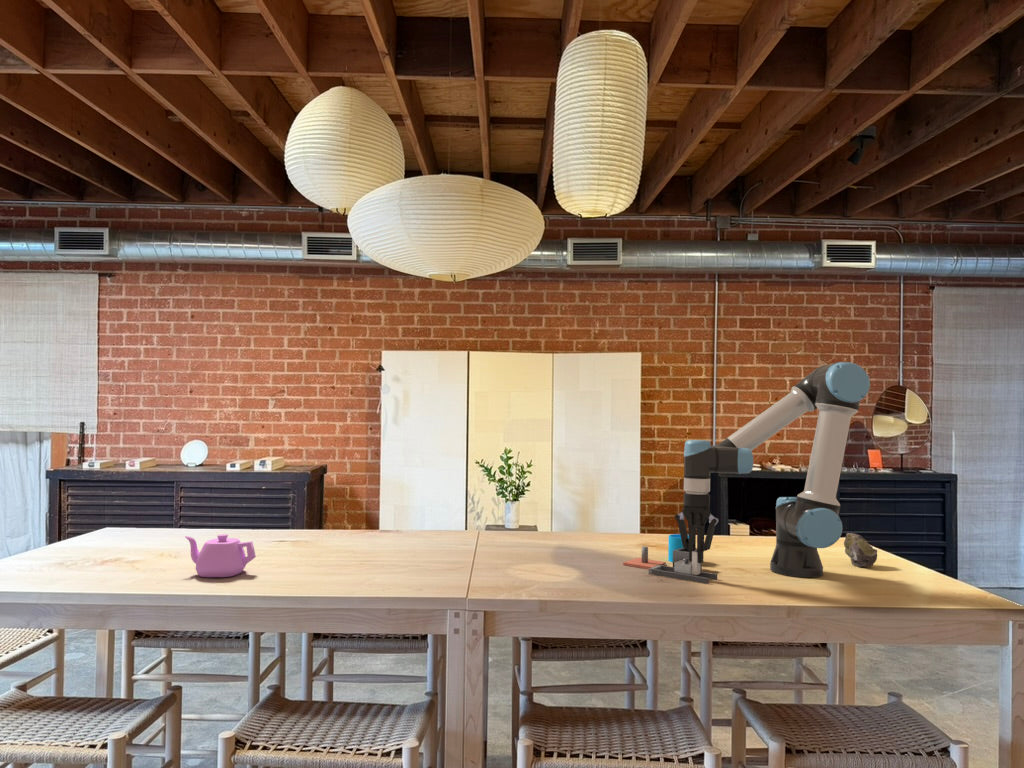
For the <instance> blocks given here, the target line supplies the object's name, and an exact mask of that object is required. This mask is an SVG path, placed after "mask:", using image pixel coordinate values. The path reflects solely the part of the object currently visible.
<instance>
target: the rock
mask: <svg viewBox="0 0 1024 768" xmlns="http://www.w3.org/2000/svg"><path fill="white" fill-rule="evenodd" d="M843 546H844V548H845V549H844V553H845V554H846V555H847V556H848V558H850V563H851V564H852V566H855V567H857V568H861V567H866V568H871V567H873V566H874V564H875V563H876V562H877V559H878V549H875V548H873V546H871V545H870V544H869V541H868V540H867V539H865V538H864V537H863V536H862V535H861V534H857V533H852V532H847V533H846V534H845V537H844V541H843Z"/></svg>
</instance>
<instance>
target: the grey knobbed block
mask: <svg viewBox="0 0 1024 768" xmlns="http://www.w3.org/2000/svg"><path fill="white" fill-rule="evenodd" d="M674 572H675V573H681V574H687V575H693V576H697V575H694V574H692V562H690V561H689V559H686V558H684V559H683V560H680V561H677V562H675V563H674Z"/></svg>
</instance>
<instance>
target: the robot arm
mask: <svg viewBox="0 0 1024 768" xmlns="http://www.w3.org/2000/svg"><path fill="white" fill-rule="evenodd" d="M870 388H871V381H870V377H869V375H868V373H867V372H866V370H865V369H864V368H863V367H862V366H861V365H859V364H856V363H854V362H850V361H849V362H848V361H847V362H845V361H839V362H835V363H831V364H825V365H822V366H819V367H818V368H815V369H814V370H813V371H811V372H809V374H807V375H806V376H805V377H803V379H801V380H800V381H799V382H798V383H795V385H793V386H792V387H791V390H790V392H789V393H787V395H785V396H783V397H782V398H781V399H779V400H778V401H777V402H775V403H774V404H773V405H771V406H770V407H768V408H767V409H766V410H764V411H763V412H761V413H760V414H758V415H757V416H756V417H755V418H752V419H751V420H750V421H749V422H747V423H745V424H744V425H743V426H742V427H741V428H739V429H738V430H736V431H735V432H734V433H732V434H731V435H729V436H728V437H726V438H725V439H724V440H722V441H721V442H719V443H718V444H715V445H712V444H711V441H710V440H705V439H703V440H702V439H687V440H686V441H685V442H684V451H683V491H684V493H683V508H682V510H681V512H680V513H677V514H675V515H674V519H675V521H676V522H677V525H678V529H679V534H680V535H681V540H682V545H683V547H684V548H687V549H688V550H689V561H690V562H692V574H694V575H698V574H700V571H701V569H700V563H704V554H705V553H704V552H706V551H708V550H711V546H712V542H713V538H714V535H715V529H716V526H717V525H718V524H719V522H720V519H719V518H717V517H715V516H714V515H713V514H712V511H711V494H710V492H711V473H714V474H715V473H717V474H719V473H720V474H721V473H722V474H738V475H741V474H750V473H751V472H752V470H753V467H754V455H753V452H752V451H753V450H755V449H757V447H759V446H760V445H762V444H763V443H765V442H766V441H768V440H769V439H771V438H772V437H773V436H775V435H776V434H778V433H779V432H780V431H782V430H783V429H784V428H786V427H787V426H789V425H790V424H792V423H793V422H795V420H797V419H798V418H800V417H801V416H803V415H804V414H806V413H807V412H808V413H813V412H814V411H816V410H817V409H818V417H817V422H816V426H815V432H814V437H813V442H812V448H811V453H810V457H809V462H808V463H809V464H808V467H807V474H806V479H805V483H804V489H803V491H802V492H800V493H798V494H797V496H779V497H778V498H777V499H776V503H775V505H776V506H775V521H776V522H775V524H776V525H775V526H776V527H775V530H776V531H775V536H776V537H775V541H776V542H775V548H774V550H773V553H772V556H771V559H770V563H769V566H770V567H769V570H770V571H771V572H773V573H775V574H779V575H784V576H789V577H798V578H818V577H822V576H824V566H823V563H822V561H821V560H822V559H821V557H820V554H819V551H818V549H826V548H829V547H831V546H833V545H834V544H836V543H837V542H838V541H839V539H840V538H841V536H842V533H843V522H842V520H841V518H840V516H839V514H840V510H841V504H840V502H839V501H838V499H837V493H838V487H839V482H840V476H841V471H842V467H843V461H844V456H845V451H846V447H847V446H846V444H847V441H848V434H849V430H850V426H851V425H850V424H851V419H852V417H853V416H854V415H856V414H857V413H858V412H859V409H860V404H861V401H862V400H863V399H864V398H865V397H866V396H867V395H868V393H869V391H870ZM685 519H686V521H687V524H686V521H685ZM707 522H708V523H709V524H708V527H707V530H706V535H705V528H706V523H707ZM687 526H688V529H687ZM688 535H689V538H688ZM695 549H697V550H695Z"/></svg>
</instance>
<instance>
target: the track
mask: <svg viewBox="0 0 1024 768" xmlns="http://www.w3.org/2000/svg"><path fill="white" fill-rule="evenodd" d="M648 575H652V576H659V577H665V578H669V579H676V580H681V581H688V582H692V583H693V582H694V583H699V584H705V585H709V583H710V580H715V581H717V580H718V573H713V572H712V573H711V572H706V571H701V570H700V574H698V575H697V576H693V575H687V574H681V573H675V572H674V567H673V566H670V565H658V566H655V567H652V568H650V569H648Z"/></svg>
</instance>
